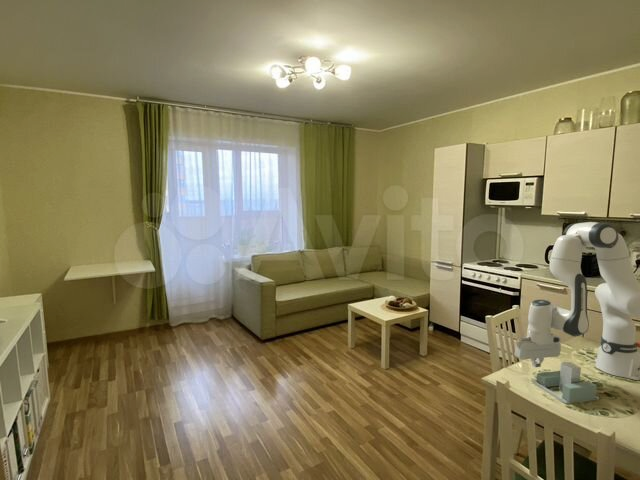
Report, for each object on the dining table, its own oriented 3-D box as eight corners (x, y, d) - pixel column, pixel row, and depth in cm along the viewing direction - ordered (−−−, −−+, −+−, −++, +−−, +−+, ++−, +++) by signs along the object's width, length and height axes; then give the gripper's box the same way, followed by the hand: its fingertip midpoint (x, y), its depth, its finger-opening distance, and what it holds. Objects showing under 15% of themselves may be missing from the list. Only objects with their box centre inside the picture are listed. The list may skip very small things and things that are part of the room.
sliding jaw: (560, 379, 147) (561, 370, 147) (569, 384, 143) (569, 375, 143) (536, 382, 145) (537, 373, 145) (544, 387, 141) (544, 378, 141)
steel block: (567, 389, 140) (569, 361, 138) (578, 396, 135) (580, 367, 134) (559, 390, 139) (560, 362, 138) (569, 397, 134) (572, 368, 133)
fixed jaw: (563, 379, 148) (563, 365, 147) (599, 399, 132) (600, 384, 132) (532, 382, 145) (533, 369, 145) (565, 404, 130) (566, 389, 129)
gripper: (523, 341, 146) (520, 371, 147) (564, 338, 149) (562, 368, 151) (512, 335, 152) (510, 365, 154) (552, 332, 155) (550, 361, 157)
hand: (536, 366), depth 152 cm, fingers closed
